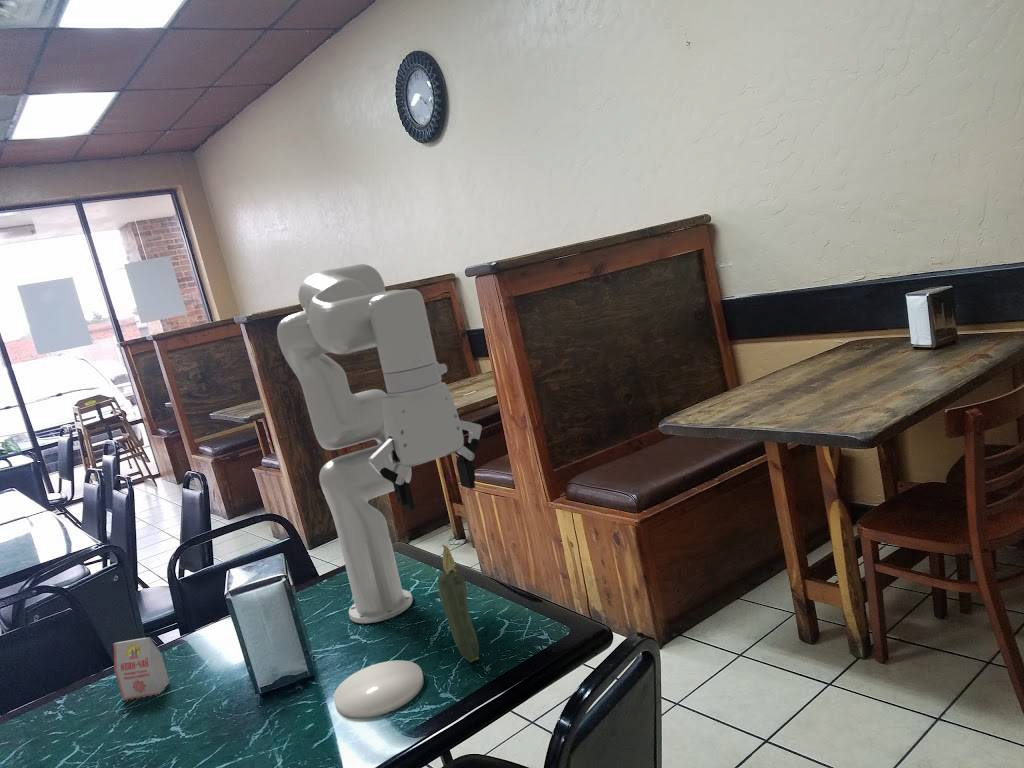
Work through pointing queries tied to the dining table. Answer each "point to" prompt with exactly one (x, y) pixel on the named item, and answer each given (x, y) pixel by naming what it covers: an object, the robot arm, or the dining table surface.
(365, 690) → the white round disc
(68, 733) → the dining table surface
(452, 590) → the vegetable
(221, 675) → the dining table surface
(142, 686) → the tea bag
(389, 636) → the dining table surface
